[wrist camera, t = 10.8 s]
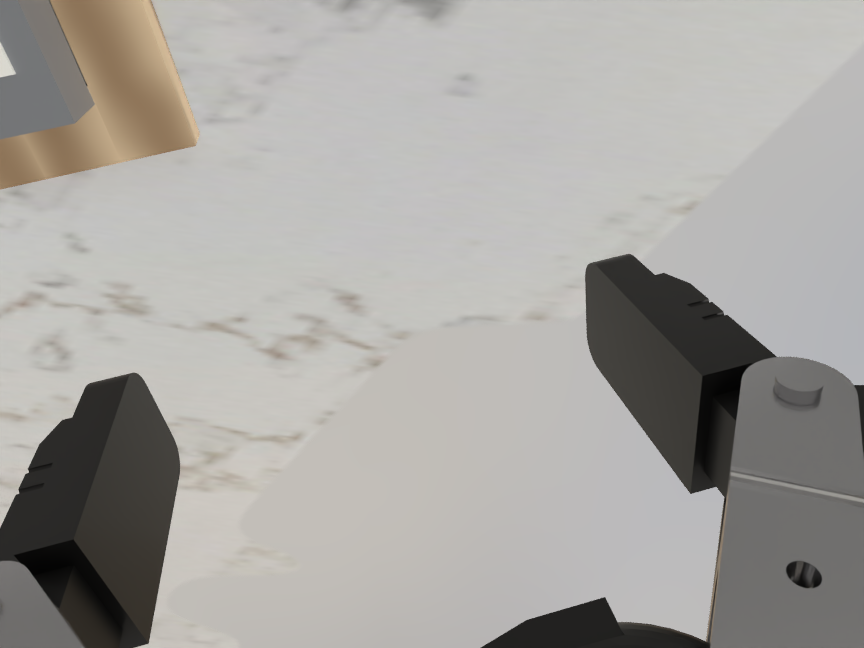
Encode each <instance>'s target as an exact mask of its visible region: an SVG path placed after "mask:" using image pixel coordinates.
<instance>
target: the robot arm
mask: <svg viewBox="0 0 864 648" xmlns="http://www.w3.org/2000/svg"><path fill="white" fill-rule="evenodd" d="M585 283H586V323H587V340H588V345H589V349H590V353H591V355H592V358H593V360H594V362H595V364H596V366H597V367H598V369H599V370H600V372H601V373H602V374H603V376H604V377H605V378H606V380H607V381H608V382H609V384H610V385H611V387H612V388H613V389H614V391H615V392H616V393H617V395H618V396H619V397H620V399H621V400H622V401H623V403H624V404H625V406H626V407H627V408H628V410H629V411H630V412H631V414H632V415H633V416H634V418H635V419H636V420H637V422H638V423H639V424H640V426H641V427H642V428H643V430H644V431H645V433H646V434H647V435H648V437H649V438H650V440H651V441H652V442H653V444H654V445H655V446H656V448H657V449H658V450H659V452H660V453H661V454H662V456H663V457H664V459H665V460H666V461H667V463H668V464H669V465H670V466H671V468H672V469H673V471H674V472H675V473H676V475H677V476H678V478H679V479H680V480H681V482H682V483H683V484H684V486H685V487H686V488H687V489H688V491H689V492H690V494H692V493H695V492H699V491H702V490H706V489H710V488H713V487H717V488H718V490H719V491H720V492H721V493H722V495H723V496H724V497H725V498H724V504H723V511H722V519H721V527H720V536H719V543H718V551H717V560H716V568H715V575H714V584H713V592H712V599H711V607H710V615H709V622H708V630H707V637H706V642H705V641H703V640H701V639H699V638H697V637H694V636H692V635H689V634H686V633H682V632H680V631H676V630H674V629H670V628H665V627H660V626H656V625H651V624H642V623H631V622H617V621H616V618H615V616H614V614H613V612H612V610H611V608H610V606H609V604H608V603H607V600H606V598H605V597H604V598H601V599H597V600H594V601H590V602H587V603H584V604H580V605H577V606H573V607H570V608H566V609H563V610H560V611H556V612H553V613H549V614H546V615H543V616H539V617H536V618H532V619H529V620H526V621H524V622H523V623H521V624H519V625H518V626H516V627H515V628H513V629H511V630H509V631H508V632H507V633H504V634H503V635H501V636H499V637H498V638H496V639H495V640H493V641H491V642H490V643H488V644H486V645H485V646H483V647H481V648H864V385H853V384H852V383H851V381H850V380H849V379H848V378H847V377H845V376H844V375H843V374H842V373H840V372H839V371H837V370H835V369H834V368H831V367H829V366H827V365H825V364H822V363H819V362H816V361H813V360H809V359H804V358H797V357H776V356H775V355H774V354H773V353H772V352H771V351H769V350H768V349H767V348H766V347H765V346H763V345H762V344H761V343H760V342H759V341H757V340H756V339H755V338H754V337H753V336H751V335H750V334H749V333H748V332H747V331H746V330H745V329H743V328H742V327H741V326H740V325H739V324H737V323H736V322H735V321H734V320H732V318H730V317H729V316H728V315H724V313H723V311H722V310H721V309H720V308H719V307H717V306H716V305H715V304H714V303H713V302H710V303H709V300H708V298H707V297H705V296H704V295H703V294H702V293H701V292H700V291H698V290H697V289H696V288H695V287H694V286H693V285H691V284H690V283H688V282H685V281H683V280H680V279H677V278H675V277H673V276H670V275H668V274H665V273H662V274H658V275H654V274H653V273H652V272H651V271H650V270H649V269H647V268H646V267H645V266H644V265H643V264H642V263H641V262H640V261H639V260H638V259H636V258H635V257H634V256H633V255H631V254H626V255H622V256H618V257H613V258H609V259H605V260H601V261H597V262H593V263H590V264H588V266H587V268H586V274H585ZM28 470H29V473H27V474H25V476H24V479H23V481H22V483H21V485H20V487H19V489H18V490H19V494H17V495H16V496H15V498H14V500H13V502H12V504H11V506H10V508H9V511H8V513H7V515H6V517H5V519H4V521H3V523H2V525H1V528H0V648H134V647H138V646H141V645H145V644H148V643H149V638H150V633H151V627H152V622H153V616H154V611H155V605H156V600H157V594H158V589H159V584H160V578H161V573H162V567H163V562H164V556H165V551H166V545H167V540H168V535H169V529H170V524H171V518H172V513H173V507H174V502H175V496H176V491H177V486H178V480H179V474H180V460H179V453H178V449H177V445H176V443H175V440H174V438H173V436H172V434H171V432H170V430H169V428H168V426H167V424H166V422H165V420H164V418H163V416H162V414H161V412H160V410H159V408H158V406H157V404H156V403H155V401H154V399H153V397H152V395H151V393H150V391H149V389H148V387H147V385H146V383H145V382H144V380H143V379H142V377H141V376H140V375H139V374H137V373H130V374H126V375H122V376H118V377H114V378H110V379H105V380H101V381H97V382H93V383H90V384H88V385H87V386H86V387H85V389H84V392H83V394H82V396H81V399H80V401H79V403H78V406H77V408H76V410H75V413H74V415H73V417H72V418H69V419H65V420H62V421H61V422H60V423H59V424H58V425H57V426H56V427H55V428H54V429H53V431H52V432H51V433H50V434H49V435H48V436H47V437H46V438H45V439H44V440H43V441H42V442H41V443H40V444H39V447H38V449H37V451H36V453H35V455H34V457H33V459H32V462H31V464H30V466H29V468H28Z"/></svg>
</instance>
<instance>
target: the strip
mask: <svg viewBox="0 0 864 648" xmlns="http://www.w3.org/2000/svg"><path fill="white" fill-rule="evenodd" d="M94 105H95V103H94V101H93V99H92V96H91V94H90V92H89V90H88V87H87V85H86V83H85V80H84V78H83V76H82V74H81V71H80V69H79V67H78V65H77V62H76V60H75V58H74V56H73V53H72V51H71V49H70V47H69V44H68V42H67V40H66V37H65V35H64V33H63V31H62V28H61V26H60V24H59V22H58V19H57V17H56V15H55V13H54V10H53V8H52V6H51V4H50V1H49V0H0V139H5V138H9V137H14V136H19V135H24V134H28V133H33V132H38V131H42V130H47V129H52V128H56V127H61V126H66V125H70V124H75V123H76V122H77V121H78V120H79V119H80V118H81V117H82V116H83V115H84V114H85V113H86V112H88V111H89V110H90V109H91V108H92V107H93V106H94Z"/></svg>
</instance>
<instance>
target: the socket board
mask: <svg viewBox="0 0 864 648" xmlns="http://www.w3.org/2000/svg"><path fill="white" fill-rule="evenodd" d="M50 2H51V4H52V7H53V9H54V11H55V13H56V16H57V18H58V20H59V22H60V25H61V27H62V29H63V31H64V34H65V36H66V38H67V40H68V43H69V45H70V47H71V49H72V52H73V54H74V56H75V58H76V61H77V63H78V65H79V68H80V70H81V72H82V74H83V77H84V79H85V83H86V85H87V87H88V90H89V92H90V94H91V96H92V99H93V101H94V103H95V105H94V106H93V107H92V108H91V109H90V110H89V111H88V112H86V113H85V114H84V115H83V116H82V117H81V118H80V119H79V120H78V121H77V122H76V123H75V124H70V125H66V126H61V127H56V128H52V129H47V130H42V131H38V132H33V133H28V134H24V135H19V136H14V137H9V138H5V139H0V189H4V188H9V187H13V186H18V185H22V184H27V183H31V182H36V181H40V180H45V179H49V178H54V177H58V176H63V175H67V174H72V173H76V172H81V171H85V170H90V169H94V168H98V167H103V166H107V165H112V164H116V163H121V162H125V161H130V160H134V159H139V158H143V157H148V156H152V155H157V154H161V153H166V152H170V151H175V150H179V149H184V148H188V147H193V146H196V143H197V140H198V137H199V135H200V133H199V131H198V128H197V125H196V122H195V120H194V117H193V114H192V111H191V109H190V106H189V103H188V100H187V98H186V95H185V92H184V89H183V87H182V84H181V81H180V78H179V76H178V73H177V70H176V67H175V65H174V62H173V59H172V57H171V54H170V51H169V48H168V46H167V43H166V40H165V37H164V35H163V32H162V29H161V26H160V24H159V21H158V18H157V15H156V13H155V10H154V7H153V4H152V2H151V0H50Z"/></svg>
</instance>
